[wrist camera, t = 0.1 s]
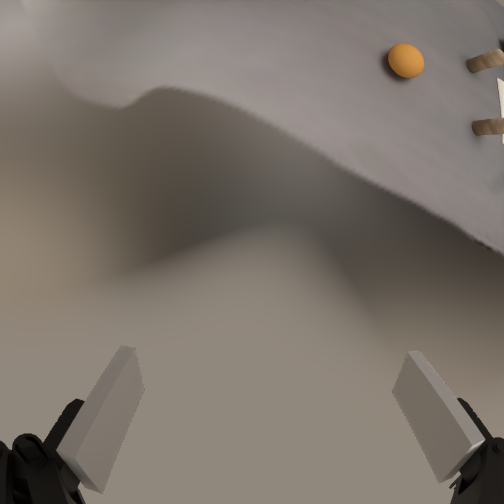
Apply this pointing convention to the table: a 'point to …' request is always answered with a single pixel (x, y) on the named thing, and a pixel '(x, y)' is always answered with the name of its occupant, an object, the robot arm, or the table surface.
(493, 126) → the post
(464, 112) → the table surface
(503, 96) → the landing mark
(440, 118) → the table surface
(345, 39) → the table surface
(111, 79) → the table surface
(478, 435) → the robot arm
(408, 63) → the ball
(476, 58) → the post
